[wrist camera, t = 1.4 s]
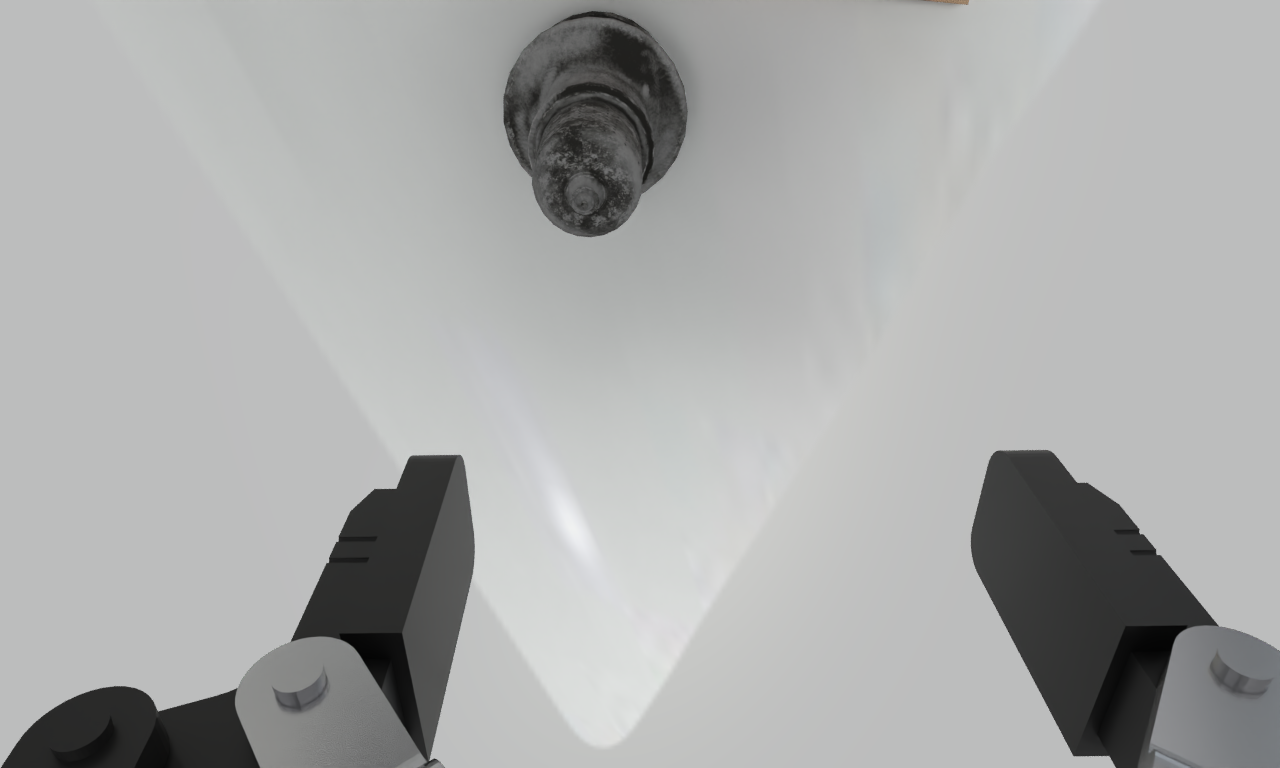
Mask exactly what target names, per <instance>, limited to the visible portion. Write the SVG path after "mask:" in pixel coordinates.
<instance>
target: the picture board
mask: <svg viewBox="0 0 1280 768" xmlns="http://www.w3.org/2000/svg"><path fill="white" fill-rule="evenodd" d="M925 1H935V2H945V3H956V4H966V5H968V2H969V0H925Z"/></svg>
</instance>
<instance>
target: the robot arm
mask: <svg viewBox="0 0 1280 768" xmlns="http://www.w3.org/2000/svg"><path fill="white" fill-rule="evenodd" d="M971 551H972V557H973V562H974V565H975V568H976V571H977V573H978V575H979V577H980V579H981V580H982V582H983V584H984V586H985V588H986V590H987V592H988V594H989V596H990V598H991V600H992V601H993V603H994V605H995V607H996V609H997V611H998V613H999V615H1000V616H1001V618H1002V621H1003V622H1004V624H1005V626H1006V628H1007V630H1008V632H1009V634H1010V636H1011V638H1012V640H1013V641H1014V643H1015V645H1016V647H1017V649H1018V651H1019V653H1020V655H1021V657H1022V659H1023V661H1024V662H1025V664H1026V666H1027V668H1028V670H1029V672H1030V674H1031V676H1032V678H1033V679H1034V681H1035V683H1036V685H1037V687H1038V689H1039V691H1040V693H1041V694H1042V697H1043V699H1044V700H1045V702H1046V704H1047V706H1048V708H1049V710H1050V712H1051V714H1052V716H1053V718H1054V720H1055V721H1056V723H1057V725H1058V727H1059V729H1060V731H1061V733H1062V735H1063V737H1064V739H1065V741H1066V742H1067V744H1068V746H1069V748H1070V750H1071V752H1072V754H1073V756H1110V758H1111V760H1112V761H1113V763H1114V765H1115V767H1116V768H1280V651H1279V650H1277V649H1276V648H1274V647H1273V646H1271V645H1269V644H1267V643H1266V642H1264V641H1262V640H1260V639H1258V638H1255V637H1253V636H1251V635H1249V634H1246V633H1243V632H1240V631H1237V630H1234V629H1230V628H1225V627H1219V626H1218V625H1217V623H1216V622H1215V621H1214V620H1213V619H1212V617H1211V616H1210V615H1209V614H1208V612H1207V611H1206V610H1205V609H1204V608H1203V606H1202V605H1201V604H1200V603H1199V602H1198V600H1197V599H1196V598H1195V597H1194V595H1193V594H1192V593H1191V592H1190V590H1189V589H1188V588H1187V587H1186V586H1185V585H1184V583H1183V582H1182V581H1181V580H1180V578H1179V577H1178V576H1177V575H1176V574H1175V572H1174V571H1173V570H1172V569H1171V567H1170V566H1169V565H1168V564H1167V562H1166V561H1165V560H1164V559H1163V558H1162V556H1160V555H1156V549H1155V548H1154V547H1153V545H1152V544H1151V543H1150V542H1149V541H1148V539H1147V538H1146V537H1145V536H1144V535H1143V534H1141V535H1140V533H1139V528H1138V527H1137V526H1136V525H1135V524H1134V523H1133V521H1132V520H1131V519H1130V517H1129V516H1128V515H1127V514H1126V513H1125V511H1124V510H1123V509H1122V508H1121V507H1120V505H1119V504H1117V503H1116V502H1114V501H1113V500H1111V499H1110V498H1109V497H1107V496H1106V495H1104V494H1103V493H1101V492H1100V491H1098V490H1097V489H1095V488H1094V487H1093V486H1091V485H1089V484H1088V483H1077V482H1076V481H1075V480H1074V478H1073V477H1072V476H1071V475H1070V473H1069V472H1068V471H1067V470H1066V468H1065V467H1064V466H1063V464H1062V463H1061V462H1060V461H1059V459H1058V458H1057V457H1056V456H1055V455H1054V453H1052V452H1051V451H1048V450H1029V451H1028V450H1025V451H1024V450H1020V451H996V452H995V453H994V454H993V455H992V456H991V459H990V461H989V464H988V467H987V471H986V475H985V479H984V483H983V488H982V491H981V495H980V499H979V504H978V507H977V511H976V515H975V519H974V523H973V527H972V534H971ZM474 553H475V544H474V531H473V523H472V516H471V509H470V501H469V494H468V486H467V479H466V471H465V465H464V461H463V458H462V456H461V455H419V456H410V458H409V459H408V461H407V464H406V466H405V469H404V471H403V474H402V476H401V479H400V481H399V484H398V487H397V489H374V490H373V491H372V492H371V493H370V494H369V495H368V496H367V497H366V498H364V499H363V500H362V501H361V502H360V503H359V504H358V505H357V506H356V507H355V508H354V509H353V510H351V512H350V514H349V516H348V518H347V520H346V522H345V524H344V527H343V529H342V531H341V533H340V535H339V542H336V544H335V546H334V548H333V551H332V553H331V555H330V557H329V563H327V564H326V566H325V568H324V570H323V572H322V575H321V577H320V579H319V581H318V583H317V585H316V588H315V590H314V592H313V594H312V596H311V599H310V601H309V603H308V605H307V607H306V610H305V612H304V614H303V616H302V618H301V620H300V622H299V625H298V627H297V629H296V631H295V633H294V636H293V638H292V640H291V642H290V643H287V644H284V645H282V646H280V647H278V648H276V649H274V650H272V651H271V652H269V653H268V654H266V655H265V656H263V657H262V658H261V659H260V660H259V661H257V662H256V663H255V664H254V665H253V666H252V667H251V668H250V669H249V670H248V671H247V673H246V674H245V676H244V677H243V679H242V680H241V682H240V684H239V687H238V688H237V689H234V690H232V691H230V692H227V693H224V694H221V695H218V696H214V697H211V698H207V699H203V700H199V701H196V702H192V703H189V704H185V705H181V706H177V707H174V708H170V709H166V710H162V711H159V712H158V711H157V709H156V706H155V704H154V702H153V700H152V699H151V698H150V697H149V695H147V694H146V693H144V692H143V691H141V690H138V689H136V688H131V687H125V686H121V687H120V686H114V687H106V688H101V689H97V690H93V691H90V692H86V693H84V694H81V695H78V696H76V697H74V698H72V699H70V700H67V701H66V702H64V703H62V704H60V705H59V706H57V707H55V708H54V709H52V710H51V711H49V712H48V713H46V714H45V715H44V716H42V717H41V718H40V719H39V720H38V721H36V722H35V723H34V724H33V725H32V726H31V727H30V728H29V729H28V730H27V732H25V733H24V735H23V736H22V737H21V739H20V740H19V741H18V743H17V744H16V746H15V747H14V749H13V750H12V752H11V753H10V755H9V756H8V758H7V759H6V761H5V762H4V764H3V765H2V767H1V768H445V767H444V766H443V764H441V762H439V761H438V760H437V759H433V760H431V761H429V759H430V755H431V751H432V747H433V742H434V738H435V734H436V729H437V725H438V721H439V717H440V712H441V708H442V704H443V699H444V695H445V691H446V686H447V682H448V678H449V674H450V669H451V665H452V661H453V656H454V652H455V647H456V643H457V639H458V635H459V631H460V626H461V622H462V617H463V613H464V609H465V604H466V600H467V596H468V592H469V587H470V583H471V579H472V574H473V567H474Z"/></svg>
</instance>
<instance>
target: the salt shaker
mask: <svg viewBox="0 0 1280 768" xmlns="http://www.w3.org/2000/svg"><path fill="white" fill-rule="evenodd" d="M687 112H688V111H687V105H686V98H685V92H684V86H683V84H682V81H681V79H680V77H679V74H678V72H677V70H676V67H675V65H674V63H673V62H672V60H671V59H670V58H669V57H668V55H667V54H666V53H665V51H664V50H663V49H662V48H661V46H660V45H659V44H658V43H657V42H656V41H655V40H654V39H653V38H652V36H651V35H650V34H649V33H648V32H647V31H646V30H644V29H643V28H642V27H640V26H639V25H638V24H636V23H635V22H634V21H632V20H630V19H627V18H625V17H622V16H619V15H617V14H614V13H606V12H594V11H592V12H587V13H582V14H577V15H572V16H571V17H569V18H567V19H565V20H563V21H561V22H559V23H557V24H555V25H554V26H553V27H552V28H550V29H548V30H546V31H544V32H542V33H541V34H540V35H539V36H538V37H537V38H535V39H534V40H533V41H532V42H531V43H530V44H529V45H528V46H527V47H526V48H525V49H524V50H523V51H522V53H521V55H520V56H519V58H518V60H517V62H516V63H515V65H514V67H513V69H512V70H511V72H510V75H509V78H508V82H507V86H506V90H505V94H504V125H505V128H506V132H507V136H508V140H509V143H510V146H511V148H512V150H513V152H514V153H515V155H516V157H517V159H518V161H519V162H520V164H521V166H522V167H523V168H524V169H525V170H526V172H527V173H528V174H529V175H530V176H531V177H532V186H533V190H534V194H535V198H536V200H537V202H538V204H539V206H540V208H541V210H542V212H543V213H544V215H545V216H546V217H547V218H548V219H549V220H550V221H551V222H552V223H553V224H554V225H555V226H557V227H558V228H560V229H562V230H563V231H565V232H567V233H570V234H573V235H576V236H584V237H594V236H600V235H605V234H607V233H609V232H611V231H613V230H615V229H617V228H618V227H620V226H621V225H622V224H623V223H624V222H625V221H627V220H628V218H629V217H630V215H631V214H632V212H633V211H634V210H635V208H636V207H637V204H638V201H639V199H640V196H641V193H644V192H646V191H647V190H648V189H649V188H650V187H652V186H653V185H654V184H655V183H656V182H658V181H659V180H660V179H661V178H662V177H663V176H664V175H665V173H666V172H667V171H668V169H669V168H670V166H671V165H672V164H673V162H674V161H675V159H676V158H677V155H678V153H679V150H680V147H681V145H682V142H683V139H684V137H685V130H686V121H687Z"/></svg>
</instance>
